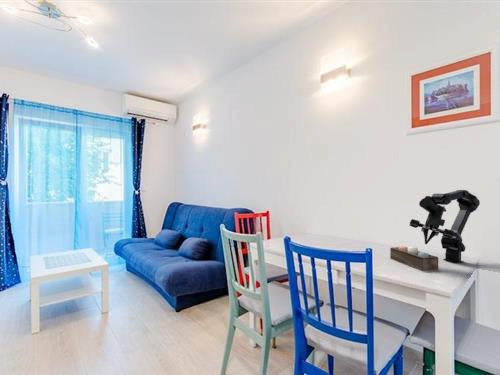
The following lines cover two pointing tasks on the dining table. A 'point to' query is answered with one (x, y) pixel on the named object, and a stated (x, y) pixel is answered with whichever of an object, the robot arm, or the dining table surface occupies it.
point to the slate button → (423, 254)
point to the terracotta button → (402, 248)
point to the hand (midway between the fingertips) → (425, 244)
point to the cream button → (412, 250)
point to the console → (414, 259)
